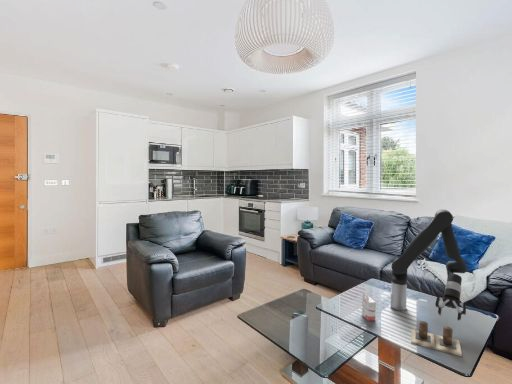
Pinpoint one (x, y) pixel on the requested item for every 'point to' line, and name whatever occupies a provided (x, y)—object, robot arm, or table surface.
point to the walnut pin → (447, 335)
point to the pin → (423, 329)
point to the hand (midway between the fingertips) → (448, 317)
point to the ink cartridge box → (368, 308)
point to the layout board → (436, 343)
